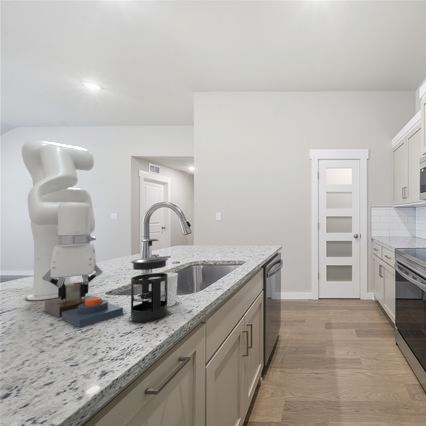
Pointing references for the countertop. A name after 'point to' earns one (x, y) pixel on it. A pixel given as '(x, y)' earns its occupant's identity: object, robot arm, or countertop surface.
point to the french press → (149, 290)
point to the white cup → (170, 288)
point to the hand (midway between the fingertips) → (73, 296)
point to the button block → (92, 314)
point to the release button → (93, 301)
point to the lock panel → (64, 305)
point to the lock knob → (73, 291)
